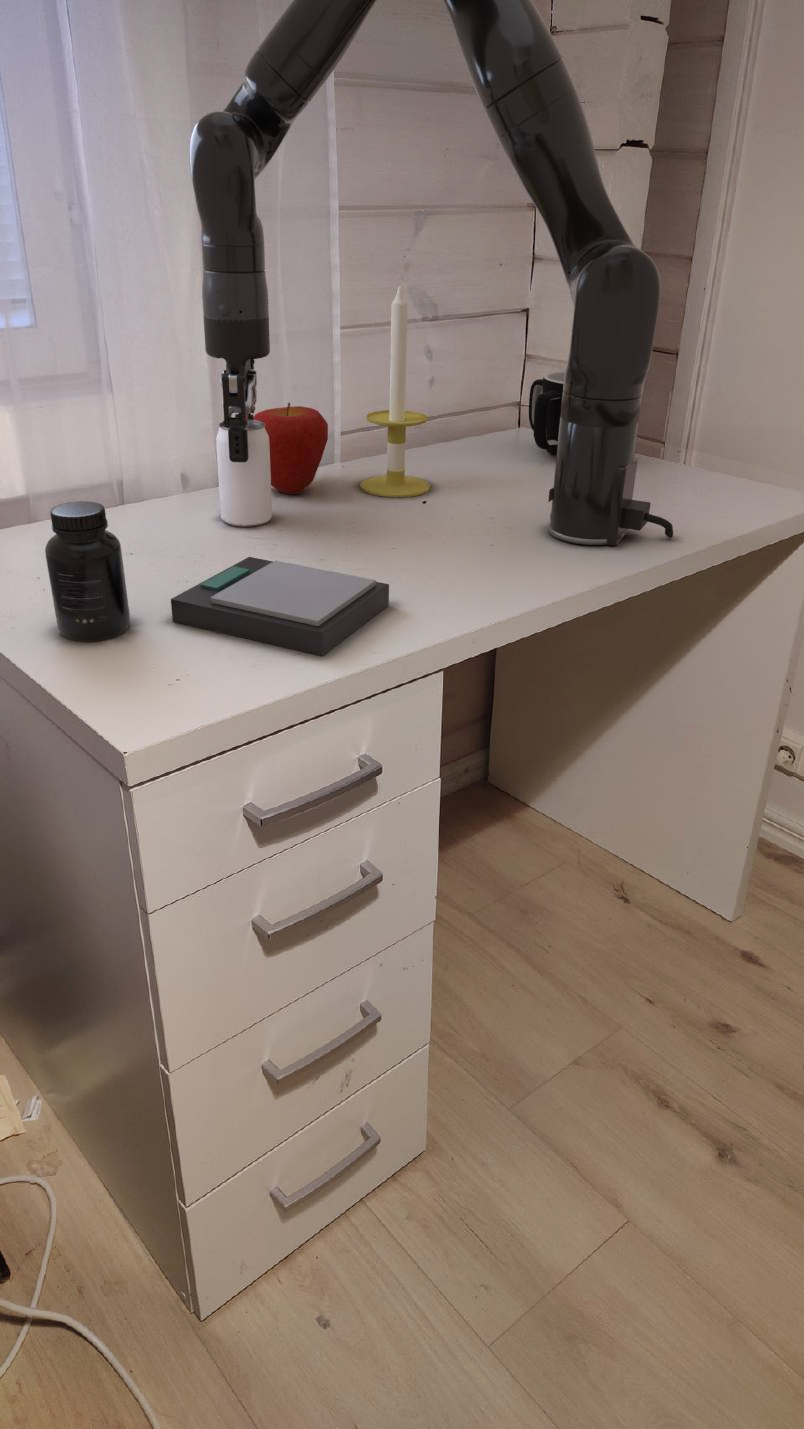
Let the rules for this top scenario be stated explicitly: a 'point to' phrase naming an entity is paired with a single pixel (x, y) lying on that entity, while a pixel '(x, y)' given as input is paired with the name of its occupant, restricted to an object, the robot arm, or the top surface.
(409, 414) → the candle
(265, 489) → the can
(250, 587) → the scale
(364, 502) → the top surface
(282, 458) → the apple
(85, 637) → the supplement bottle
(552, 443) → the mug
